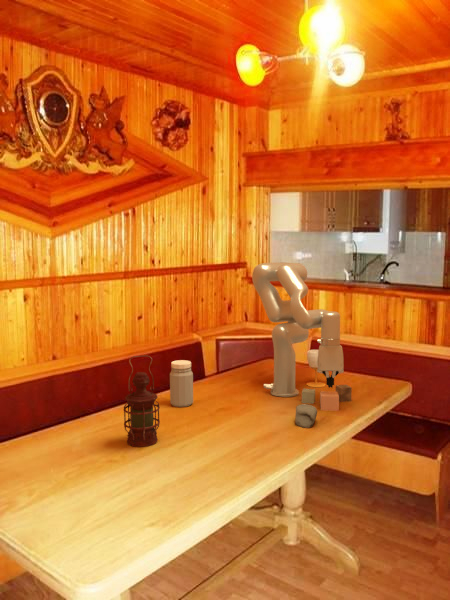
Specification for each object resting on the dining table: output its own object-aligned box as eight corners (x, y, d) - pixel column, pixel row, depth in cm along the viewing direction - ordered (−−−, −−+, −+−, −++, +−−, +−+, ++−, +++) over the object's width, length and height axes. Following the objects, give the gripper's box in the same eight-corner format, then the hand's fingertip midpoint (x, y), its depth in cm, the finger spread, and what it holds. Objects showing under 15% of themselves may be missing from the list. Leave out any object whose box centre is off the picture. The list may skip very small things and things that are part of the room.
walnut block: (340, 402, 238) (340, 388, 237) (335, 398, 243) (335, 385, 242) (351, 401, 239) (351, 387, 239) (346, 398, 244) (346, 384, 243)
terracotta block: (321, 410, 227) (321, 396, 226) (320, 405, 234) (320, 391, 233) (338, 411, 226) (339, 396, 225) (337, 405, 233) (337, 391, 232)
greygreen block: (301, 403, 237) (301, 391, 236) (303, 399, 242) (303, 388, 241) (313, 404, 236) (313, 392, 235) (315, 400, 240) (315, 389, 240)
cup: (302, 383, 268) (303, 350, 266) (318, 381, 272) (319, 348, 270) (313, 388, 260) (313, 354, 258) (329, 386, 264) (330, 352, 262)
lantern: (126, 449, 185) (123, 360, 182) (122, 437, 197) (120, 353, 194) (162, 446, 189) (161, 358, 185) (157, 433, 200) (155, 350, 197)
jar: (182, 409, 229) (182, 365, 227) (165, 405, 235) (164, 362, 233) (198, 403, 237) (197, 361, 235) (180, 399, 242) (180, 358, 241)
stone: (288, 425, 208) (293, 399, 211) (295, 429, 216) (300, 404, 219) (311, 429, 204) (316, 402, 207) (318, 433, 212) (322, 407, 215)
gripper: (312, 343, 224) (312, 389, 226) (350, 344, 222) (350, 389, 224) (311, 340, 231) (311, 384, 233) (348, 340, 230) (347, 384, 232)
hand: (330, 386), depth 229 cm, fingers closed
